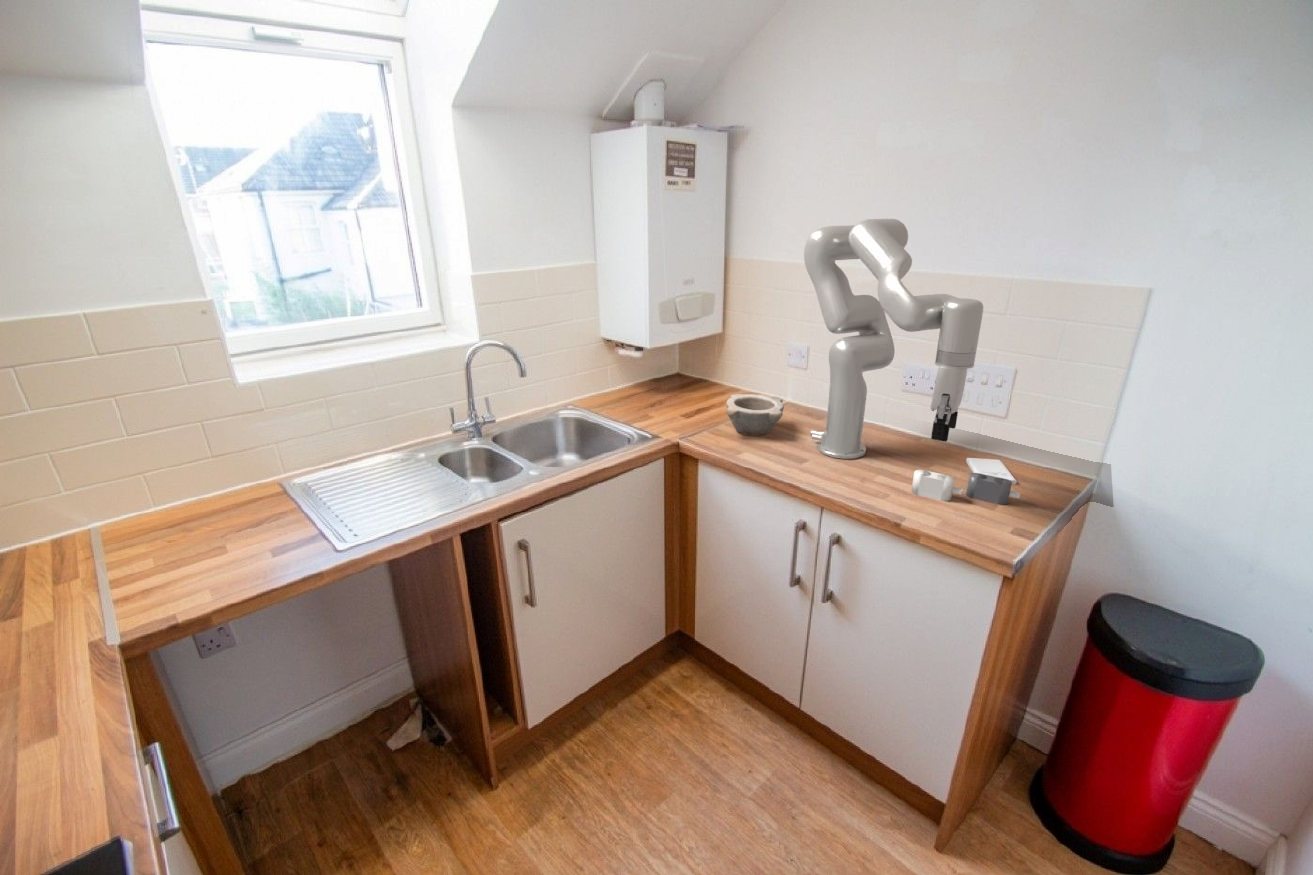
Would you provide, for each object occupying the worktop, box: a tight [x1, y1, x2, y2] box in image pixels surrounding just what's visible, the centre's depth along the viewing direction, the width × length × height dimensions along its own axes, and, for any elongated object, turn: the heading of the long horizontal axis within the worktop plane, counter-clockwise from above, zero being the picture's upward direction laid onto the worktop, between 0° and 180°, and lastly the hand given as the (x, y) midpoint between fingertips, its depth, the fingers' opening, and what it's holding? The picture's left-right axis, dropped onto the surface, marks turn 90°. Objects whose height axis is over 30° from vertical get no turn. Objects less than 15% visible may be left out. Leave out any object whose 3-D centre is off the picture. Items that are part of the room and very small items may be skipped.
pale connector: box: [910, 469, 964, 502], centre depth 139 cm, size 11×4×5 cm, turn 56°
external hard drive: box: [965, 457, 1018, 485], centre depth 151 cm, size 2×8×12 cm
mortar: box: [725, 393, 785, 437], centre depth 179 cm, size 17×17×9 cm
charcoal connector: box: [965, 472, 1021, 506], centre depth 137 cm, size 11×4×5 cm, turn 56°
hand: (943, 433), depth 134 cm, fingers open, 9 cm apart
